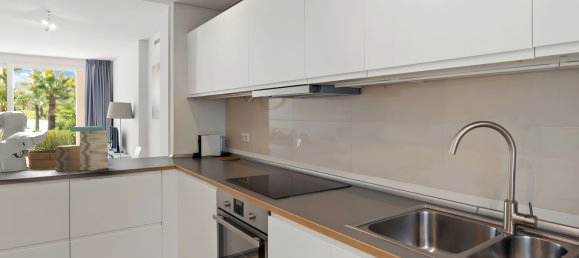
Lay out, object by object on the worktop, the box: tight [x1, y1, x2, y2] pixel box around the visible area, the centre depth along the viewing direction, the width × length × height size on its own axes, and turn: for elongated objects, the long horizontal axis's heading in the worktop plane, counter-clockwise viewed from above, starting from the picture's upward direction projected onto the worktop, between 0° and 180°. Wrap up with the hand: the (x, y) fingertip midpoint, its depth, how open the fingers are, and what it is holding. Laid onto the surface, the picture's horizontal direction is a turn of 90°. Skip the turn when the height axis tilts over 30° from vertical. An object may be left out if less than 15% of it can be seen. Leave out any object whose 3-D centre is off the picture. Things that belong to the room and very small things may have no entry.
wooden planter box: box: [27, 149, 56, 170], centre depth 242 cm, size 25×25×11 cm
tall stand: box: [79, 129, 109, 171], centre depth 230 cm, size 9×14×26 cm, turn 166°
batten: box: [69, 125, 105, 133], centre depth 225 cm, size 3×24×3 cm, turn 166°
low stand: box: [54, 144, 80, 172], centre depth 227 cm, size 8×14×16 cm, turn 166°
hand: (40, 131), depth 194 cm, fingers open, 8 cm apart
